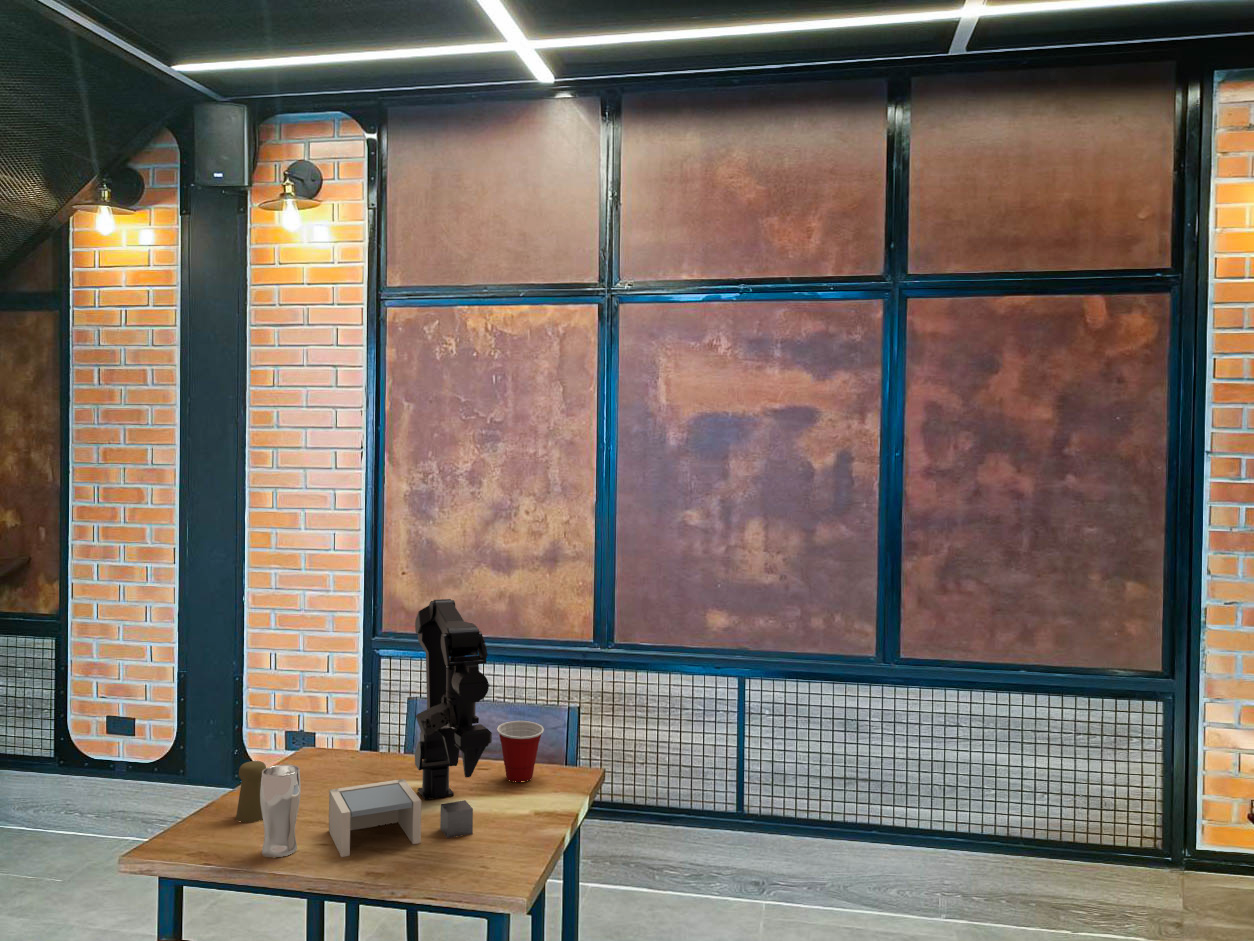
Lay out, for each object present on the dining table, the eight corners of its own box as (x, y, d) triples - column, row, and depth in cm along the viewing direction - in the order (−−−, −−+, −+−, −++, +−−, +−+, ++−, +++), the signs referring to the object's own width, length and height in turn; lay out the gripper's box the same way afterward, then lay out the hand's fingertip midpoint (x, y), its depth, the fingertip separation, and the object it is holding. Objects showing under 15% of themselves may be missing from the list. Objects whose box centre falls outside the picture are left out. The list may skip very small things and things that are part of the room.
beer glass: (275, 862, 160) (276, 778, 160) (251, 853, 164) (252, 771, 164) (307, 849, 166) (308, 768, 166) (283, 840, 170) (284, 761, 170)
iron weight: (440, 829, 177) (440, 804, 177) (464, 825, 179) (465, 800, 179) (447, 838, 172) (447, 812, 172) (472, 834, 174) (472, 808, 175)
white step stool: (328, 830, 175) (329, 789, 175) (403, 818, 182) (404, 778, 182) (341, 857, 163) (341, 813, 163) (420, 842, 170) (421, 800, 170)
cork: (274, 814, 183) (275, 760, 183) (250, 824, 177) (251, 769, 178) (252, 809, 185) (253, 756, 186) (228, 819, 180) (229, 764, 180)
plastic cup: (506, 790, 199) (507, 736, 199) (489, 775, 208) (489, 724, 208) (551, 782, 204) (552, 729, 204) (531, 768, 214) (532, 718, 214)
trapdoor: (340, 796, 174) (340, 791, 174) (397, 788, 179) (397, 783, 179) (351, 817, 164) (352, 811, 164) (411, 807, 169) (411, 802, 169)
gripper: (406, 684, 180) (405, 762, 180) (436, 706, 164) (434, 791, 164) (460, 679, 185) (459, 754, 185) (493, 699, 169) (492, 782, 169)
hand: (459, 770), depth 176 cm, fingers open, 9 cm apart
